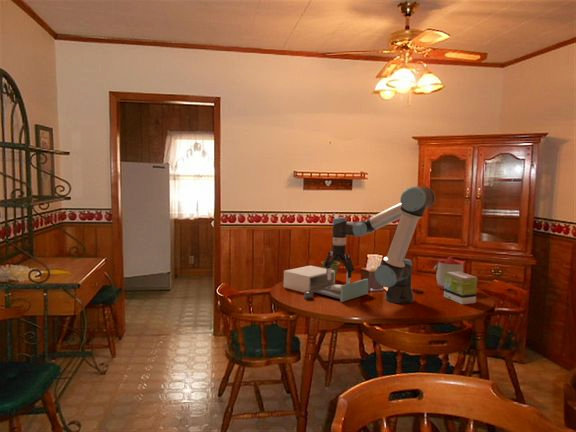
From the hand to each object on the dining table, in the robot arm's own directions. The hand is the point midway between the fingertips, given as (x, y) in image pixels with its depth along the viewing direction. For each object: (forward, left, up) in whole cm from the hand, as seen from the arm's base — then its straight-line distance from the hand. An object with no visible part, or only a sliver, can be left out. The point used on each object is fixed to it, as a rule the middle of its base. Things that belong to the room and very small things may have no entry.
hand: (338, 281), depth 255 cm
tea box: (-53, -41, -8) cm, 68 cm away
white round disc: (0, 0, -5) cm, 5 cm away
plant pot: (+25, -24, -8) cm, 35 cm away
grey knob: (+6, +19, -7) cm, 21 cm away
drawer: (0, 0, -7) cm, 7 cm away
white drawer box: (+22, 0, -7) cm, 23 cm away
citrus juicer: (-37, -61, -8) cm, 72 cm away
